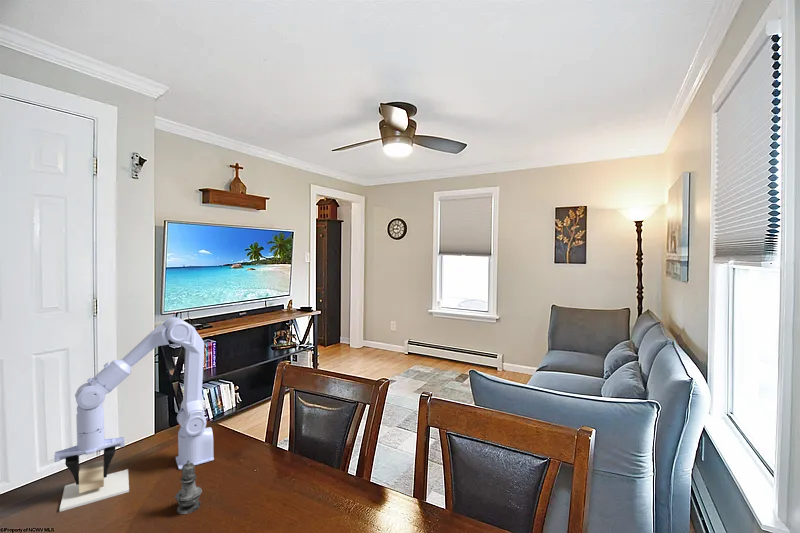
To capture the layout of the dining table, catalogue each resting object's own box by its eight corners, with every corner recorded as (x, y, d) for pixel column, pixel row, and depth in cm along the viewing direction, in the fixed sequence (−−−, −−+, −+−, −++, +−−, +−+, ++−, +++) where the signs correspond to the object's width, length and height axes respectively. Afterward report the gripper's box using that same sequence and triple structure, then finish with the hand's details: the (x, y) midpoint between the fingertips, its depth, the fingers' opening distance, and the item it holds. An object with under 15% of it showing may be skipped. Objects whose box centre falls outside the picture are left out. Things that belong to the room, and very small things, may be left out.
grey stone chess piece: (190, 516, 95) (190, 467, 94) (169, 513, 96) (168, 464, 95) (207, 501, 100) (206, 455, 100) (187, 498, 102) (186, 452, 101)
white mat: (128, 471, 114) (128, 469, 114) (129, 491, 104) (129, 489, 104) (64, 487, 106) (64, 485, 106) (59, 511, 96) (59, 509, 96)
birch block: (103, 477, 108) (103, 459, 107) (103, 486, 104) (103, 467, 103) (80, 483, 105) (80, 465, 104) (79, 493, 101) (78, 474, 100)
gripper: (52, 442, 96) (53, 496, 97) (124, 427, 105) (125, 477, 105) (55, 431, 102) (57, 482, 102) (124, 418, 110) (124, 465, 111)
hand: (91, 479), depth 104 cm, fingers closed on birch block, 5 cm apart
